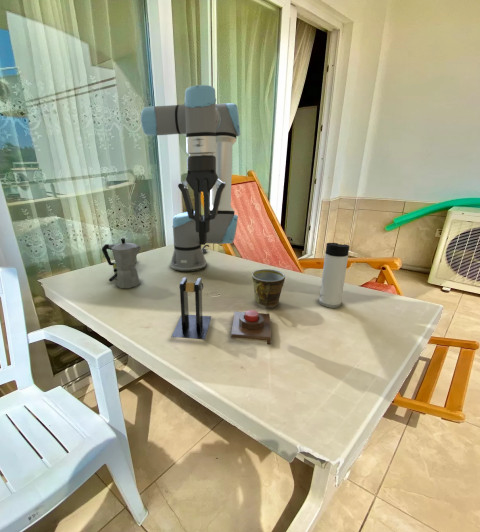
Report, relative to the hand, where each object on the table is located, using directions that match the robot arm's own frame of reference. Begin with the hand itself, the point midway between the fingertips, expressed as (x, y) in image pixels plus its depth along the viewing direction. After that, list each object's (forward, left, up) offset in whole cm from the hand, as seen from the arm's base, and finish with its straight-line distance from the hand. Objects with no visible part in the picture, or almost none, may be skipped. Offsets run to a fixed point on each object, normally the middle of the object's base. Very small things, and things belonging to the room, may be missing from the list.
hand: (203, 243), depth 86 cm
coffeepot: (-18, -34, -22) cm, 44 cm away
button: (+8, +14, -18) cm, 25 cm away
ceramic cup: (-7, +18, -22) cm, 29 cm away
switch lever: (+6, -2, -13) cm, 14 cm away
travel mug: (-11, +38, -22) cm, 46 cm away
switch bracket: (+10, -2, -22) cm, 24 cm away
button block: (+8, +14, -22) cm, 28 cm away
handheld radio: (-30, -40, -22) cm, 54 cm away
